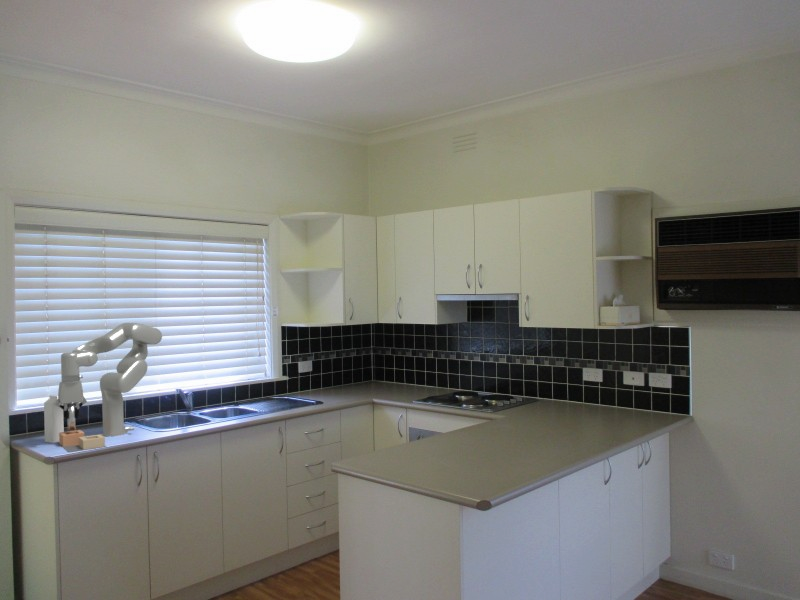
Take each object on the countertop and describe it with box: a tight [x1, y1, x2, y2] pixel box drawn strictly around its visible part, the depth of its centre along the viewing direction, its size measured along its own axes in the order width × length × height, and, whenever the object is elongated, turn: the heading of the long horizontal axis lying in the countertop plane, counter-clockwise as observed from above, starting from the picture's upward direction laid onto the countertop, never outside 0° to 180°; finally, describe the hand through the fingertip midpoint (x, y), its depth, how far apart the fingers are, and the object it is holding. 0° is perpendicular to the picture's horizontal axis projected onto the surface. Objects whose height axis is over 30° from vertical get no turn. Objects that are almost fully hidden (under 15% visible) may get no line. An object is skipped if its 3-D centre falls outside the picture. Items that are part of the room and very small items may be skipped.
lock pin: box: [66, 402, 77, 431], centre depth 307 cm, size 4×4×13 cm
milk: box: [43, 395, 65, 444], centre depth 318 cm, size 6×6×22 cm
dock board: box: [57, 429, 107, 453], centre depth 304 cm, size 16×24×6 cm, turn 37°
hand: (71, 417), depth 307 cm, fingers closed on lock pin, 3 cm apart
